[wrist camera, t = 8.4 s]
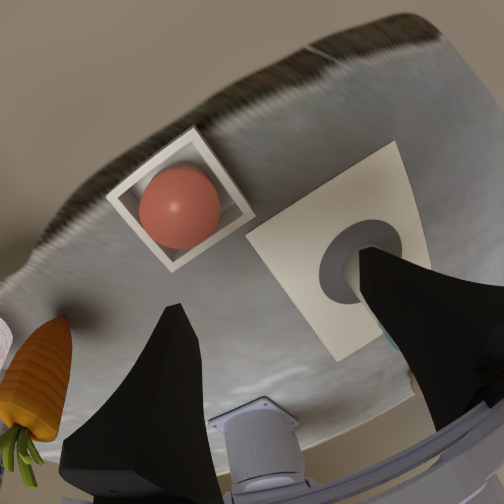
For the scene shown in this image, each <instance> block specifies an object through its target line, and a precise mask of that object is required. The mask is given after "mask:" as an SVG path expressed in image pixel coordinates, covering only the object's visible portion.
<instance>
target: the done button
mask: <svg viewBox="0 0 504 504" xmlns="http://www.w3.org/2000/svg"><path fill="white" fill-rule="evenodd" d="M139 216H140V220H141V223H142V226H143V228H144V230H145V231H146V233H147V234H148V235H149V236H150V237H151V238H152V239H153V240H154V241H156V242H157V243H159V244H161V245H163V246H166V247H169V248H174V249H186V248H191V247H194V246H196V245H199V244H200V243H202V242H204V241H205V240H206V239H208V238H209V237H210V236H211V234H212V233H213V232H214V230H215V229H216V227H217V224H218V222H219V218H220V202H219V198H218V194H217V190H216V187H215V184H214V182H213V181H212V179H211V178H210V177H209V175H208V174H206V173H205V172H204V171H203V170H201V169H200V168H198V167H195V166H192V165H188V164H175V165H171V166H168V167H166V168H164V169H162V170H160V171H159V172H158V173H157V174H156V175H155V176H154V177H153V178H152V179H151V181H150V182H149V184H148V186H147V187H146V189H145V191H144V193H143V195H142V197H141V200H140V205H139Z"/></svg>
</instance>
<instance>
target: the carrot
mask: <svg viewBox="0 0 504 504" xmlns="http://www.w3.org/2000/svg"><path fill="white" fill-rule="evenodd" d="M71 359H72V338H71V332H70V327H69V323H68V321H67V320H66V318H64V317H57V318H55V319H52V320H50V321H48V322H46V323H45V324H43V325H42V326H40V327H39V328H37V329H36V330H35V331H34V332H33V333H32V334H31V335H30V337H29V338H28V339H27V340H26V341H25V342H24V344H23V345H22V346H21V347H20V349H19V350H18V351H17V353H16V355H15V356H14V358H13V360H12V362H11V364H10V366H9V367H8V369H7V371H6V373H5V376H4V378H3V380H2V382H1V384H0V419H1V420H2V421H3V422H4V423H5V424H6V425H7V426H8V427H9V429H8V430H7V431H6V432H5V433H3V434H2V435H1V436H0V453H1V452H2V451H3V456H2V458H3V466H4V467H5V468H6V469H7V470H8V471H10V472H14V449H15V444H16V440H17V459H18V464H19V468H20V472H21V476H22V479H23V482H24V485H25V487H28V488H30V489H34V488H36V487H37V483H36V480H35V476H34V473H33V470H32V467H31V464H32V463H33V462H32V459H31V457H30V456H29V454H28V451H27V448H28V450H29V452H30V454H31V456H32V457H33V459H34V461H35V462H36V463H38V464H39V465H42V464H44V462H43V461H42V459H41V457H40V455H39V453H38V452H37V450H36V448H35V446H34V444H33V442H32V441H38V442H52V441H54V440H55V439H56V437H57V434H58V431H59V426H60V421H61V416H62V411H63V407H64V402H65V398H66V393H67V388H68V383H69V378H70V369H71Z"/></svg>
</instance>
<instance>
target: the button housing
mask: <svg viewBox="0 0 504 504" xmlns="http://www.w3.org/2000/svg"><path fill="white" fill-rule="evenodd" d="M175 164H188V165H192V166H195V167H198V168H200V169H201V170H203V171H204V172H205V173H206V174H208V175H209V177H210V178H211V179H212V181H213V182H214V184H215V187H216V190H217V194H218V198H219V202H220V218H219V222H218V224H217V227H216V229H215V230H214V232H213V233H212V234H211V236H210V237H209V238H208V239H206V240H205V241H204V242H202V243H200V244H199V245H196V246H194V247H191V248H186V249H174V248H169V247H166V246H163V245H161V244H159V243H157V242H156V241H154V240H153V239H152V238H151V237H150V236H149V235H148V234H147V233H146V231H145V230H144V228H143V226H142V223H141V220H140V216H139V205H140V200H141V197H142V195H143V193H144V191H145V189H146V187H147V186H148V184H149V182H150V181H151V179H152V178H153V177H154V176H155V175H156V174H157V173H158V172H159V171H160V170H162V169H164V168H166V167H168V166H171V165H175ZM106 198H107V199H108V200H109V202H110V203H111V204H112V205H113V206H114V208H115V209H116V210H117V211H118V212H119V214H120V215H121V216H122V217H123V218H124V220H125V221H126V222H127V223H128V224H129V225H130V227H131V228H132V229H133V230H134V231H135V232H136V234H137V235H138V236H139V237H140V238H141V239H142V240H143V242H144V243H145V244H146V245H147V246H148V247H149V248H150V249H151V251H152V252H153V253H154V254H155V255H156V256H157V257H158V258H159V259H160V261H161V262H162V263H163V264H164V265H165V266H166V267H167V268H168V269H169V270H170V271H171V272H174V271H175V270H177V269H178V268H180V267H181V266H182V265H184V264H185V263H187V262H188V261H190V260H191V259H193V258H194V257H196V256H197V255H199V254H200V253H202V252H203V251H205V250H206V249H208V248H209V247H211V246H212V245H214V244H215V243H217V242H218V241H220V240H221V239H223V238H224V237H226V236H227V235H229V234H230V233H232V232H233V231H235V230H236V229H238V228H239V227H241V226H242V225H244V224H245V223H247V222H248V221H250V220H251V219H253V218H254V217H256V215H255V214H254V212H253V210H252V208H251V206H250V204H249V202H248V200H247V199H246V197H245V196H244V194H243V193H242V191H241V190H240V188H239V187H238V186H237V184H236V183H235V181H234V180H233V178H232V177H231V175H230V174H229V173H228V171H227V170H226V168H225V167H224V165H223V164H222V163H221V161H220V160H219V158H218V157H217V155H216V154H215V153H214V151H213V150H212V148H211V147H210V146H209V144H208V143H207V141H206V140H205V139H204V137H203V136H202V134H201V133H200V131H199V130H198V129H197V127H196V126H195V124H194V125H193V126H191V127H190V128H189V129H187V130H186V131H184V132H183V133H181V134H180V135H179V136H177V137H176V138H174V139H173V140H172V141H170V142H169V143H168V144H166V145H165V146H164V147H162V148H161V149H160V150H158V151H157V152H156V153H154V154H153V155H152V156H150V157H149V158H148V159H147V160H145V161H144V162H143V163H142V164H140V165H139V166H138V167H137V168H135V169H134V170H133V171H132V172H130V173H129V174H128V175H127V176H126V177H124V178H123V179H122V180H121V181H120V182H118V183H117V185H116V186H115V187H114V188H113V189H112V190H111V191H110V192H109V193H108V194H107V195H106Z"/></svg>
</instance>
